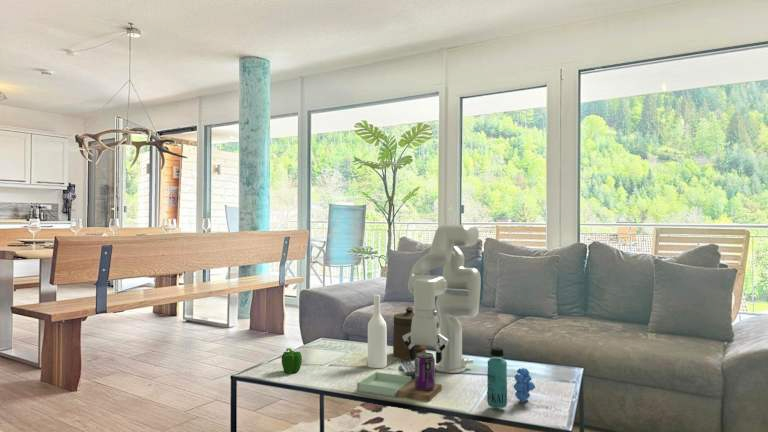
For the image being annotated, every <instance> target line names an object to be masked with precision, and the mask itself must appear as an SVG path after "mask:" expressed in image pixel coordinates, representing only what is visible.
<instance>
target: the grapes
mask: <svg viewBox="0 0 768 432" xmlns="http://www.w3.org/2000/svg"><path fill="white" fill-rule="evenodd" d="M513 378H514V379H515V381H516V382H515V383H514V385H513V388H514V390H515V391H516V392H515V393H514V396H515V397H516V399H517V400H519V401H520V402H521V403H525V402H526V401H527V400H528V399H529V398H530V397H531V394H530V391H533V390H534V389H535V388H536V386H535V383H533V381H532V376H531V375H530V371H529V369H527V368H526V367H519V368H518V369H517V371H516V374H515V375H514V377H513Z"/></svg>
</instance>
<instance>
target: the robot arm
mask: <svg viewBox="0 0 768 432" xmlns="http://www.w3.org/2000/svg"><path fill="white" fill-rule="evenodd" d="M479 235H480V234H479V229H478V227H477V226H476V225H474V224H445V225H441V226H439V227H437V229H436V230H435V233H434V235H433V236H434V237H433V239H432V243H431V245H430V246H431V247H430V249H429V252H428V253H426V254H424V255H423V256H422V257H420V258H419V259H418V260H417V261H416V262H415V263H414V265H413V266H412V269H411V271H410V274H409V277H408V282H407V288H408V291H409V292H410V293H411V294H412V295H413V313H414V316H413V318H412V324H411V332H409V333H407V334H405V335H403V336H402V337H403V339H404V341H405V344H406V345H407V346H408V348H409V349H410V357H411V360H410V361H415V358H416V348H415V347H414V346H415V345H422V346H426V347H431V348H432V347H433V348H434V349H435V350H436V352H435V371H438V372H441V373H445V374H457V373H462V372H465V371H466V370H467V367H466V365H467V364H468V365H471V364H472V365H473V364H474V358H468V357H467V358H464V357H463V327H462V323H461V321H460V320H459V319H458V317H460V318H462V317H463V318H475V317H476V316H477V315H478V314H479V309H480V300H481V299H480V298H481V285H482V283H481V281H482V279H481V278H482V277H481V273H480V271H479V270H478V268H475V267H465V255H464V253H463V251H462V250H461V249H460V248H459V247H472V246H475V245H476V244H477V242H478V241H479V237H480V236H479ZM441 267H443V269H442V275H434V274H426V273H427V272H428V271H431V270H434V269H437V268H441ZM447 290H450V291H451V290H452V291H465V292H466V293H464V292H452V291H451V292H447ZM436 297H437V298H436ZM409 336H411V342H410V341H409V340H408V337H409Z"/></svg>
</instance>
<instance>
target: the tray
mask: <svg viewBox="0 0 768 432" xmlns="http://www.w3.org/2000/svg"><path fill="white" fill-rule="evenodd" d="M411 380H412V376H410V375H401V374H396V373H387V372H381V371H373V373H371V374H369V375H368V376H367V377H365V378H363V379H361V380H360V381H358V382H357V383H356V385H357V387H356V388H357V392H361V393H366V394H372V395H379V396H387V397H392V398H396V397H397V390H399V389H400V388H401V387H403V386H404V385H406V384H407V383H408V382H410V381H411Z"/></svg>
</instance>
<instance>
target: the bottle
mask: <svg viewBox="0 0 768 432" xmlns="http://www.w3.org/2000/svg"><path fill="white" fill-rule="evenodd" d="M387 325H388V324H387V323H386V320H385V319H384V317H383V315H382V314H381V295H380V294H373V314H372V316H371V318H370V320H369V321H368V323H367V366H368V367H369V368H371V369H383V368H386V367H387V365H388V363H387V362H388V359H387V358H388V357H387V356H388V355H387V354H388V353H387V352H388V351H387V350H388V346H387V345H388V342H387V340H388V339H387V337H388V334H387V331H388V330H387V329H388V328H387V327H388V326H387Z"/></svg>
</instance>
